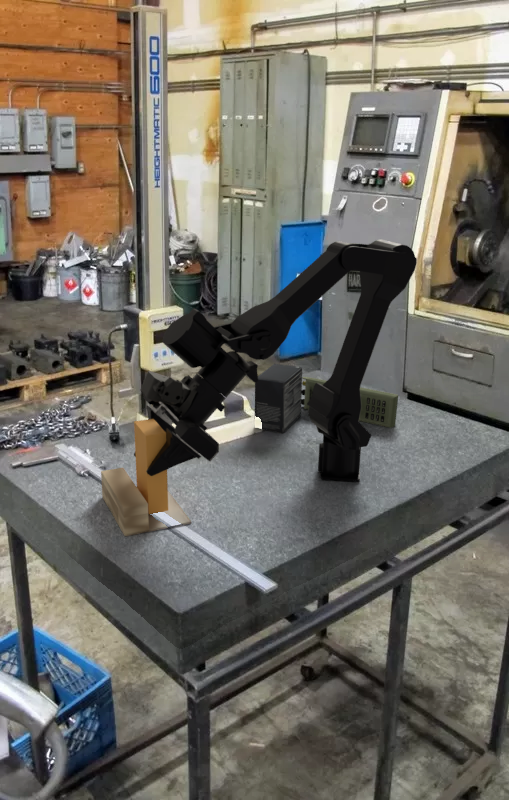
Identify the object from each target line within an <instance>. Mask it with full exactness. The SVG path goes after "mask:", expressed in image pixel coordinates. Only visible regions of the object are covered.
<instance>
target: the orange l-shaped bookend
mask: <svg viewBox="0 0 509 800" xmlns="http://www.w3.org/2000/svg"><path fill="white" fill-rule="evenodd" d="M133 427H134V428H133V430H134V453H135V455H136V457H135V471H136V473H135V474H136V487H137V488H138V490H139V491H140V493H141V494H142V496H143V497H144V499H145V500H146V502H147V503H148V514H153V513H158V512H163V511H168V491H169V490H168V487H169V485H168V469H167V470H165V471H162V472H160V473H158V474H156V475H153V476H150V475H149V474H147V472H146V471H147V469H148V467H149V466H150V464H151V463H152V461H153V460H154V458H155V457H156V456H157V454H158V453H159V451H160V450H161V448H162V447H163V446H164V444H165V443H166V432H165V431H164V430H163V429H162V428H161V427H160V425H159V424H158V423H157V422H156V421H155V420H154V419H148V418H147V419H141V420H137V421H136V420H135V421H133Z"/></svg>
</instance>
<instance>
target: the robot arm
mask: <svg viewBox="0 0 509 800" xmlns="http://www.w3.org/2000/svg"><path fill="white" fill-rule="evenodd" d="M417 261H418V259H417V257H416V256H415V252H414V250H413V249H412V248H411V247H410V246H409V245H406V244H402V243H399V242H394V241H389V240H386V239H381V238H380V239H377V240H376V239H375V240H374V241H372V242H371V243H367V244H366V243H360V242H359V243H358V242H344V241H341V240H340V241H339V240H337V241H333V242H332V243H330V244H329V245H328V246H327V247H326V250H325V251H324V252H323V253H322V254H320V256H318V257H317V258H316V259H315V260H314V261H313V262H312V263H310V264H309V265H308V266H307V267H306V268H305V269H304V270H302V272H301V273H299V274H298V275H297V276H296V277H295V278H294V279H293V280H291V281H290V282H289V284H288V285H286V286H285V287H284V288H283V289H282V290H280V292H278V293H277V294H276V295H275V296H274V297H272V298H271V299H269V300H267V301H265V302H263V303H259V304H257V305H255V306H252V307H251V308H249V309H248V310H247V311H245V312H243V313H241V314H240V315H238V316H237V317H235V318H234V320H233V321H232V322H228V323H224V324H220V325H216V326H215V325H214V326H213V325H212V323H210V321H208V320H207V317H206V316H205V315H204V314H203V313H202V311H201V312H200V311H199V310H198V309H196V308H192V309H191V311H189V312H188V313H187V314H183V315H182V316H180V317H178V318H177V319H176V320H173V321H172V322H171V323H170V324H169V325H168V327H167V329H165V332H164V334H163V337H162V343H163V345H165V346H166V347H167V348H168V349H169V350H170V351H171V352H173V353H174V355H176V356H177V357H179V359H181V360H182V362H184V363H185V364H186V365H187V366H188V367H189V368H192V369H196V368H198V367H200V368H199V370H198V371H197V373H196V374H194V375H193V377H191V376H190V375H189V374H188V375H184V376H183V377H182V379H181V380H179V379H174V378H172V377H169V376H166V375H163V374H160V373H158V372H154V371H152V370H147V373H146V375H145V378H144V380H143V382H142V385H141V387H140V389H139V391H140V392H141V393H143V394H144V395H143V396H142V399H144V400H145V401H146V402H147V404H149V405H152V406H149V405H147V404H146V406H145V409H146V413H147V420H148V419H154V420H155V421H156V422H157V423H158V424H159V425H160V427H161V428H162V429H163V430H164V431H165V432H166V443H165V444H164V446H163V447H162V448H161V450H160V451H159V453H158V454H157V456H156V457H155V458H154V460H153V461H152V463H151V464H150V466H149V467H148V469H147V471H146V472H147V474H149V475H150V476H153V475H156V474H158V473H160V472H162V471H165V470H167V471H168V470H169V469H171V468H172V467H173V468H174V467H176V466H179V465H180V464H182V463H186V462H188V461H191V460H194V459H196V458H197V459H198V460H199V459H200V458H201V457H203V458H204V459H206V460H207V461H208V462H210V463H211V462H212V461H213V459H215V457H216V456H217V455H218V453H219V452H220V444H219V442H218V441H217V440H216V439H215V438H214V437H213V436H212V435H211V434H210V433H208V432H207V429H208V427H207V426H206V425H205V424H206V422H207V421H208V420H209V419H210V418H211V416H212V415H213V414H214V413H215V412H216V411H217V410H218V411H219V412H220V413H222V412H223V411H224V410H225V408H226V406H225V405H224V404H223V403H224V401H225V400H226V398H227V397H228V396H230V394H231V393H232V392H233V391H234V389H235V388H236V387H237V386H238V385H239V384H240V383H241V381H242V380H243V379H244V378H245V377H246V378H248V379H249V380H250V381H252V382H253V383H254V384H255V383H257V382H258V376H259V374H258V368H259V365H258V364H257V363H256V362H254V361H253V360H260V361H261V360H262V361H264V360H266V359H269V358H270V357H271V356H273V355H274V354H275V353H276V352H277V350H278V349H279V348H280V347H281V345H283V343H284V342H285V340H286V339H287V338H288V335H289V333H290V330H291V328H292V326H293V324H294V323H295V322H296V321H297V320H298V318H300V317H301V316H302V315H303V314H304V313H305V312H307V310H309V309H310V308H311V307H312V306H313V305H314V304H315V303H317V302H318V301H319V300H320V299H321V298H322V297H323V296H324V295H325V294H327V292H328V291H330V290H331V289H332V288H333V287H334V286H336V285H337V284H338V283H339V282H340V281H341V280H342V279H343V278H344V277H345V276H346V275H348V273H350V272H351V271H354V272H355V271H356V272H359V281H360V295H359V299H358V301H357V304H356V307H355V309H354V312H353V315H352V318H351V320H350V323H349V326H348V329H347V332H346V335H345V337H344V341H343V343H342V345H341V348H340V352H339V354H338V357H337V360H336V362H335V365H334V367H333V368H334V369H333V371H332V374H331V375H330V378H328V379H327V380H326V382H325V383H324V384H323V385H321V384H319V383H316V384H315V385H314V388H313V393H312V396H311V398H310V400H309V402H308V403H307V405H308V406H309V410H307V412H308V415H307V416H308V417H309V419H310V421H311V423H313V425H314V426H315V427H316V430H317V432H318V433H320V434H321V435H322V436H323V437H322V442H320V443H319V445H318V447H319V448H318V462H317V463H318V465H317V470H318V472H320V479H321V480H325V481H326V480H327V481H328V480H329V481H330V480H331V481H343V482H345V481H347V482H360V481H361V471H360V467H361V453H362V452H361V451H362V448H364V447H367V446H368V445H369V442H370V440H371V437H372V433H370V432H369V431H368V429H366V428H365V427H364V426H363V425H362V424H361V423H360V421H359V417H360V412H361V408H362V405H361V394H360V387H361V385H362V382H363V379H364V377H365V374H366V371H367V369H368V366H369V363H370V360H371V358H372V354H373V353H374V350H375V346H376V344H377V342H378V338H379V335H380V333H381V330H382V327H383V325H384V323H385V319H386V316H387V314H388V311H389V308H390V306H391V304H392V302H393V301H394V300H395V299H396V298H397V297H398V296H399V295H400V294H401V293H402V292H403V291H404V290H406V288H407V286H408V284H409V283H410V280H411V278H412V276H413V274H414V273H415V271H416V269H417V268H416V267H417V263H418V262H417ZM224 345H225V346H226V347H227V348H229V349H231V350H232V351H231V350H230V351H226V350H225V349H223V347H222V346H224ZM239 353H240V354H245V355H246V356H248V358H251V359H253V360H248V361H246V360H245V358H243V357H242V356H241V355H240V354H239ZM174 425H175V426H174ZM133 456H134V457H135V458H136V455H135V452H134V453H133Z"/></svg>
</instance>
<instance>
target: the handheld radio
mask: <svg viewBox="0 0 509 800" xmlns="http://www.w3.org/2000/svg"><path fill="white" fill-rule="evenodd" d="M303 380H304V381H303ZM326 381H327V380H325V379H321V378H316V377H309V376H302V387H303V386H304V389H303V388H302V395H301V396H304V398H301V406H303V409H304V410H307V411H309V406H308V405H307V403H308V402H309V400H310V398H311V396H312V393H313V388H314V385H315V384H316V383H319V384H321V385H323V384H324V383H325V382H326ZM360 394H361V405H362V408H361V412H360V417H359V422H361V423H367V424H371V425H375V426H380V427H384V428H385V427H386V428H389V429H392V428H395V426H396V423H397V421H396V420H397V413H398V402H399V401H398V399H399V394H397V393H391V392H387V391H382V390H378V389H377V390H375V389H371V388H366V387H361V386H360Z"/></svg>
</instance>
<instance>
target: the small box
mask: <svg viewBox="0 0 509 800" xmlns="http://www.w3.org/2000/svg"><path fill="white" fill-rule="evenodd" d="M302 377H303V366H299V365H297V366H296V365H289V364H280V363H273V364H272V365H270V367H268V368H267V369H266V370H264V371H263V372H262V373H260V374H258V382H257V383H255V382H254V417H255V416H256V417H259V418H260V419H261V422H262V431H268V432H272V433H273V432H274V433H279V434H284V433H285V432H287V430H288V429H289V428H291V426H292V425H293V424H294V423H295V422H296V421H297V420H298V419H299V418H300V417H301V416H302V404H301V399H302V396H303V395H302V390H303V385H302V382H303V379H302Z"/></svg>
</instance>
